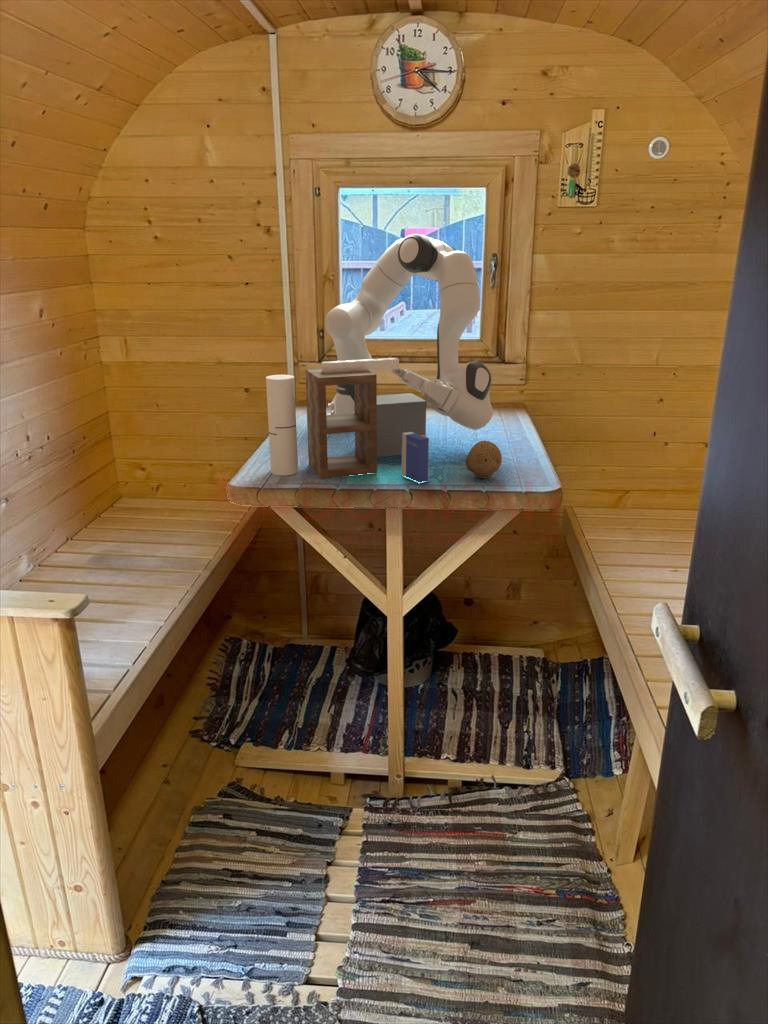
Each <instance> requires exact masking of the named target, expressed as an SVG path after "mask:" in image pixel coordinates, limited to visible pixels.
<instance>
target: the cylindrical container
mask: <svg viewBox="0 0 768 1024" xmlns="http://www.w3.org/2000/svg"><path fill="white" fill-rule="evenodd" d="M265 383H266V384H265V387H266V401H267V406H266V407H267V421H268V440H269V453H270V454H269V459H270V461H269V462H270V473H271V474H272V475H275V476H291V475H295V474H297V473H298V472H299V461H298V459H299V457H298V456H299V455H298V437H297V435H298V434H297V415H296V414H297V413H296V410H297V409H296V394H295V393H296V386H295V383H296V382H295V376H294V375H291V374H272V375H268V376H266V377H265Z"/></svg>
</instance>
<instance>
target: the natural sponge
mask: <svg viewBox="0 0 768 1024" xmlns="http://www.w3.org/2000/svg"><path fill="white" fill-rule="evenodd" d="M502 457H503V456H502V451H501V450H500V448H499V447H498V446H497V444H496V443H494V442H491V441H489V440H481V441H479V442H476V443H475V444H473V446H472V447H471V448H470V450H469V452H468V454H467V456H466V458H465V462H464V463H465V467H466V469H467V470H468V471H469V472H471V473H472V474H473V475H475V476H476V477H477V478H480V479H482V478H483V479H484V478H485V479H488V478H489V477H491V476H493V474H495V472H497V471H498V470H499V468H500V467H501V465H502V462H503V458H502ZM483 479H482V480H483Z"/></svg>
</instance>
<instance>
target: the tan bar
mask: <svg viewBox="0 0 768 1024" xmlns="http://www.w3.org/2000/svg"><path fill="white" fill-rule="evenodd" d="M321 368H322V372H323V373H324V374H325V373H342V372H360V371H372V372H373V371H375V372H377V371H392V370H395V369H400V359H399V358H397V357H383V358H372V359H362V360H343V361H338V360H327V361H321Z"/></svg>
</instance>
